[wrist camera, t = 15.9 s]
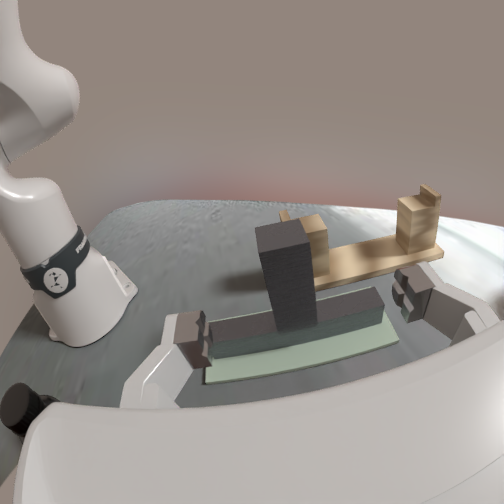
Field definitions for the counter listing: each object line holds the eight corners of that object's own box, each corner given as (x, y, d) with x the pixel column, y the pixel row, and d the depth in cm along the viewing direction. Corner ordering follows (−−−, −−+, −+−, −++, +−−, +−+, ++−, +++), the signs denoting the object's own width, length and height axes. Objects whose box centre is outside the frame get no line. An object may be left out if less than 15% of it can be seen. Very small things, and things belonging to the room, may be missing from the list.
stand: (288, 297, 36) (277, 234, 31) (281, 265, 42) (269, 208, 37) (443, 257, 34) (452, 199, 29) (420, 233, 40) (425, 179, 35)
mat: (206, 384, 27) (205, 382, 27) (209, 324, 35) (208, 321, 35) (398, 342, 26) (399, 339, 26) (370, 289, 34) (370, 286, 33)
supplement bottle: (127, 464, 20) (43, 413, 13) (86, 492, 16) (-2, 448, 10) (101, 421, 24) (31, 361, 18) (65, 448, 21) (-9, 395, 14)
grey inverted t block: (214, 363, 29) (166, 272, 22) (215, 335, 32) (174, 245, 25) (383, 326, 28) (395, 223, 21) (371, 302, 31) (375, 202, 24)
